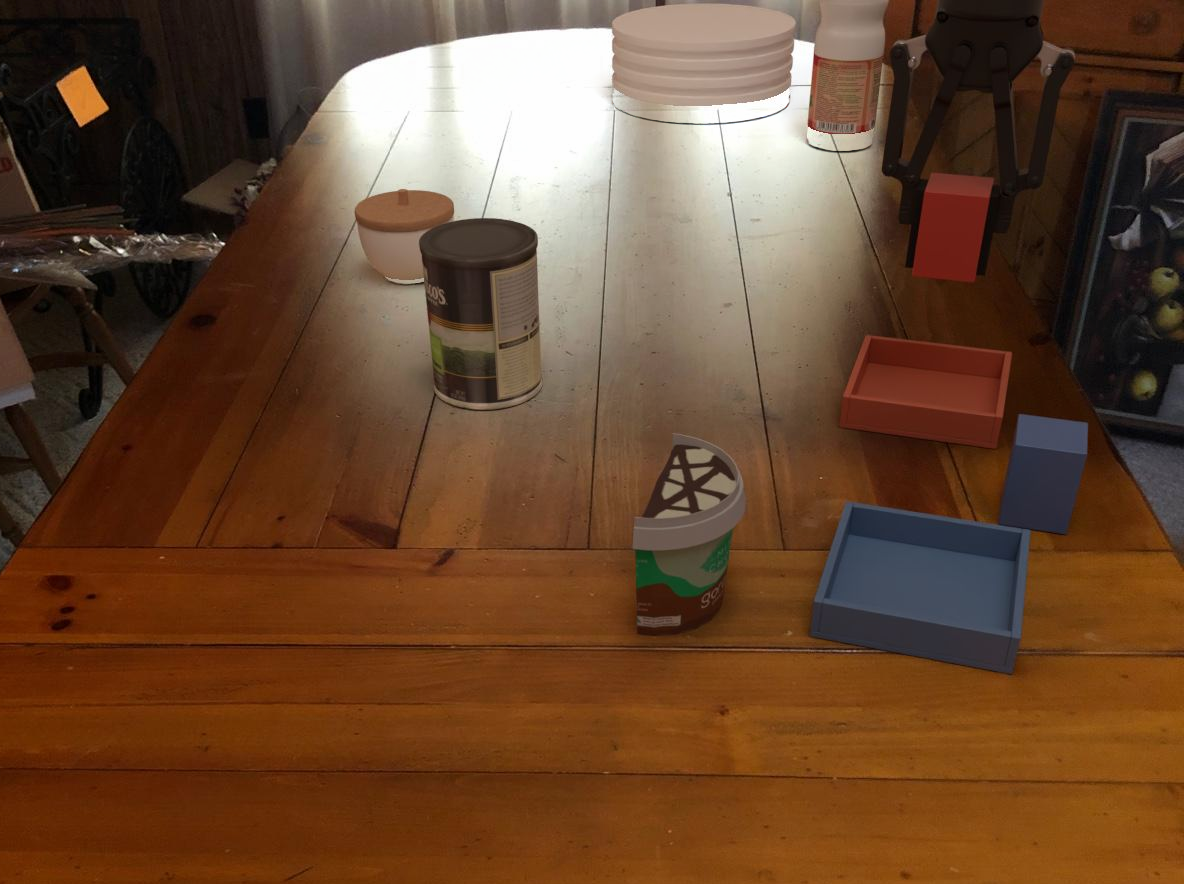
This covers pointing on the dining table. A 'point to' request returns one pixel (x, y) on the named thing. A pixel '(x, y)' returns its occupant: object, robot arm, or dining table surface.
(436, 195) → the trinket box
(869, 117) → the fruit juice
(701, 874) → the dining table surface
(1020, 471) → the blue block
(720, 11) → the plate stack
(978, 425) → the red tray
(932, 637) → the blue tray
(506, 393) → the coffee can
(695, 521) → the food container
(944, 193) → the red block
